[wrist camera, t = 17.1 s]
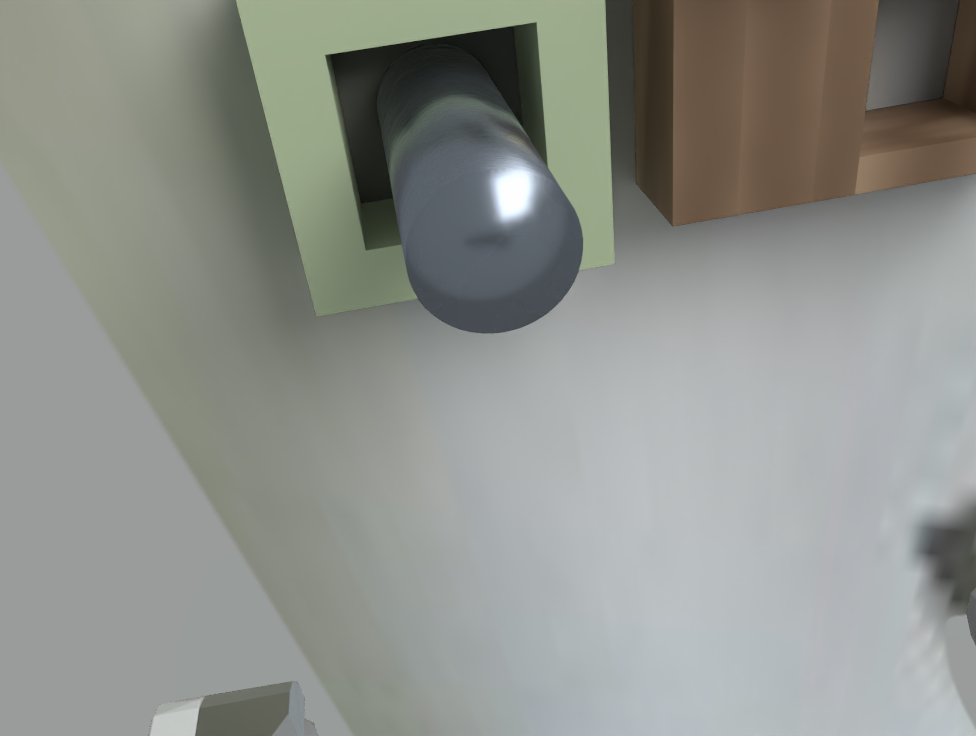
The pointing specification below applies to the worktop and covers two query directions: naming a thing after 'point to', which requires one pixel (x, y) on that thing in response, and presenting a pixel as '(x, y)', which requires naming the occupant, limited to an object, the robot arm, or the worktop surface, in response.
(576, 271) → the peg
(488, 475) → the worktop surface
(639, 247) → the worktop surface
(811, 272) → the worktop surface
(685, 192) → the socket block
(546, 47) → the square ring
